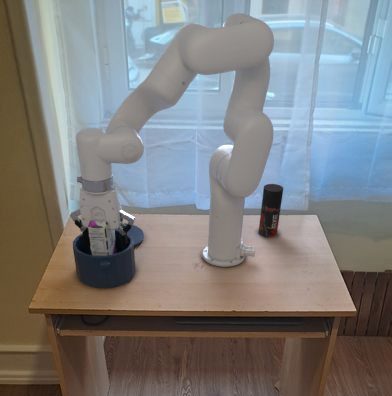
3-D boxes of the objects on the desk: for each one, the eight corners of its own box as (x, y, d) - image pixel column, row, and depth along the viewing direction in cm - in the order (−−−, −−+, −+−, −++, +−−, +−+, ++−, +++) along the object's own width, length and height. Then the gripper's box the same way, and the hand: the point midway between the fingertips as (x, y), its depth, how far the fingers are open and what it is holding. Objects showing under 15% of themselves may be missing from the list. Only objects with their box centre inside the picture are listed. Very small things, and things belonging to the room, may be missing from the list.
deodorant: (266, 227, 163) (272, 182, 154) (280, 233, 160) (287, 188, 150) (254, 232, 160) (259, 187, 150) (269, 239, 157) (275, 193, 147)
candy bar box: (100, 260, 143) (94, 206, 133) (118, 261, 143) (113, 207, 133) (93, 281, 135) (86, 225, 124) (112, 282, 135) (106, 226, 124)
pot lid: (141, 224, 162) (140, 208, 159) (146, 250, 150) (145, 233, 146) (88, 227, 160) (86, 211, 156) (89, 253, 147) (87, 236, 144)
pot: (132, 252, 149) (130, 222, 142) (138, 291, 133) (136, 260, 126) (77, 255, 146) (73, 225, 140) (77, 296, 130) (72, 264, 124)
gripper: (59, 186, 121) (70, 248, 132) (127, 191, 119) (133, 254, 130) (70, 174, 127) (80, 235, 138) (135, 179, 125) (140, 240, 136)
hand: (106, 244), depth 134 cm, fingers open, 9 cm apart
